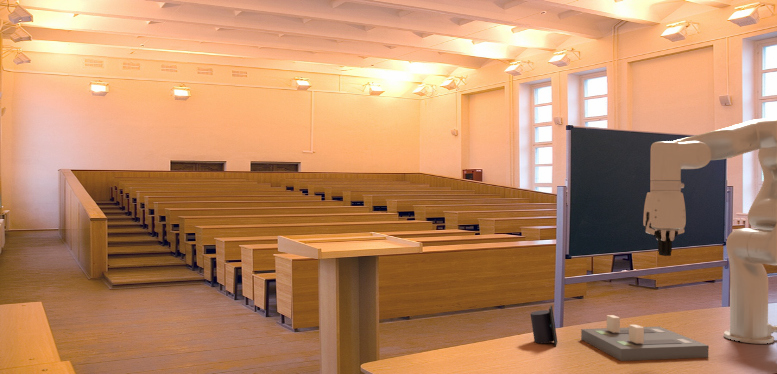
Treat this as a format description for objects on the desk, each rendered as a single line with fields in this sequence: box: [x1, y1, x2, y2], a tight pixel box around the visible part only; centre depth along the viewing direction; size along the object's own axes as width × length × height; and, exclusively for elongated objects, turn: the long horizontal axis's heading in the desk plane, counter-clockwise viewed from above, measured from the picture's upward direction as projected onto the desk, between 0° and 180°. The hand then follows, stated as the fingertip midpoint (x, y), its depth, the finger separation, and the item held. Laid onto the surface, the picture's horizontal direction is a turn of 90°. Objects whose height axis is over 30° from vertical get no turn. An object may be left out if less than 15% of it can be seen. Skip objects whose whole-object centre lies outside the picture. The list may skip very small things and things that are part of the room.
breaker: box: [606, 314, 621, 332], centre depth 178 cm, size 2×4×4 cm, turn 9°
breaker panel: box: [580, 326, 709, 362], centre depth 173 cm, size 24×22×3 cm
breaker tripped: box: [628, 324, 645, 343], centre depth 166 cm, size 2×4×4 cm, turn 9°
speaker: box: [529, 304, 558, 347], centre depth 178 cm, size 8×6×10 cm
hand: (664, 255), depth 173 cm, fingers closed
